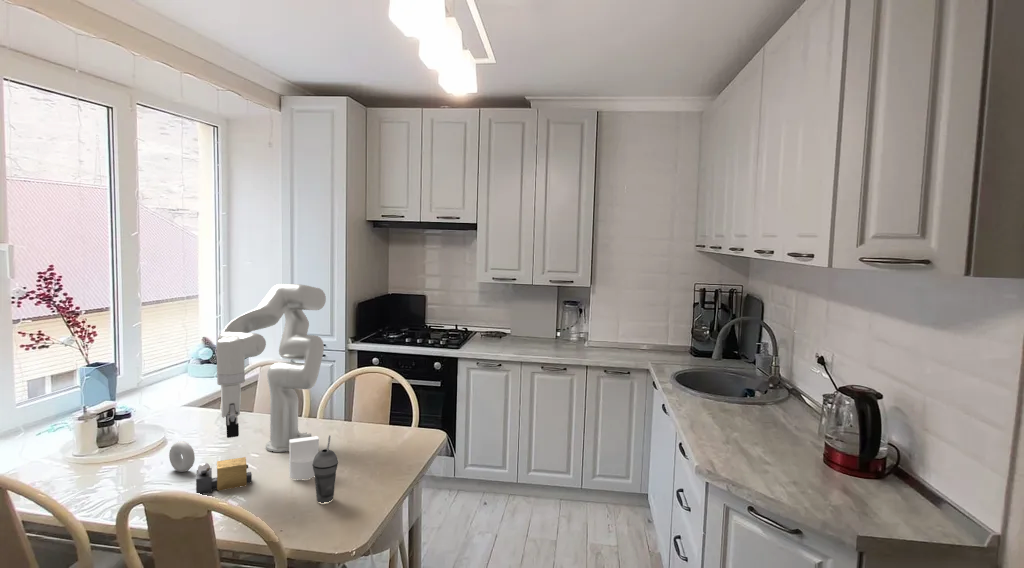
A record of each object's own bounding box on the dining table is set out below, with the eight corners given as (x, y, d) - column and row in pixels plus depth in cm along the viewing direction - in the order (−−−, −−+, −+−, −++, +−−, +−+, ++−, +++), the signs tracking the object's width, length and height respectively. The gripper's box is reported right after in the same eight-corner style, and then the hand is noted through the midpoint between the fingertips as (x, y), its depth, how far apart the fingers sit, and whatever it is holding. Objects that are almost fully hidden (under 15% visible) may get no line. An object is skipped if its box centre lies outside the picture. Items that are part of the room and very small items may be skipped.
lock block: (247, 477, 171) (247, 456, 171) (248, 485, 166) (248, 463, 165) (217, 482, 167) (217, 461, 166) (217, 490, 162) (217, 468, 161)
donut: (197, 472, 174) (197, 442, 173) (187, 476, 170) (186, 446, 170) (177, 466, 178) (176, 437, 177) (166, 470, 174) (166, 440, 174)
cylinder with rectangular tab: (290, 482, 169) (290, 446, 168) (288, 471, 177) (288, 436, 176) (320, 477, 173) (320, 442, 172) (316, 467, 181) (316, 432, 180)
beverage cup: (316, 495, 161) (316, 431, 160) (340, 494, 162) (341, 431, 160) (309, 507, 154) (309, 440, 152) (334, 506, 155) (335, 440, 153)
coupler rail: (250, 476, 172) (250, 452, 171) (252, 485, 166) (251, 460, 165) (196, 485, 165) (196, 460, 164) (196, 495, 158) (195, 468, 158)
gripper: (217, 371, 169) (218, 423, 171) (217, 386, 154) (218, 443, 156) (243, 369, 173) (244, 420, 175) (246, 383, 158) (247, 439, 160)
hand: (232, 431), depth 165 cm, fingers open, 9 cm apart
